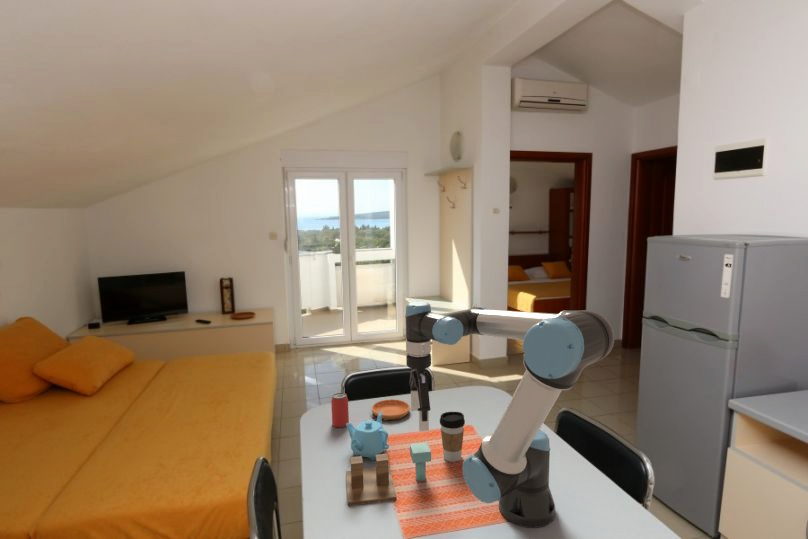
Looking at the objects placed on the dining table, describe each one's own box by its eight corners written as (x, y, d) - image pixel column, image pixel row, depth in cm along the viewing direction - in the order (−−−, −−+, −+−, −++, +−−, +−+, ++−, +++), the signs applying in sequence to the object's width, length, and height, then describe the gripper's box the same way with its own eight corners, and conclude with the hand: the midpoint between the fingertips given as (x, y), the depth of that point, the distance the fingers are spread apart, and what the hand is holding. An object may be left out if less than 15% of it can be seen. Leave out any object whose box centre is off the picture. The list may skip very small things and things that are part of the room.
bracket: (396, 499, 130) (395, 470, 129) (348, 505, 128) (347, 476, 127) (389, 469, 146) (388, 443, 145) (346, 473, 144) (345, 447, 142)
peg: (431, 482, 138) (431, 451, 137) (413, 484, 137) (413, 453, 136) (427, 472, 143) (427, 442, 142) (410, 474, 143) (409, 444, 141)
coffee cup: (464, 465, 147) (463, 421, 145) (438, 462, 149) (438, 419, 147) (465, 451, 155) (465, 410, 153) (441, 449, 157) (441, 409, 155)
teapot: (346, 444, 162) (344, 415, 160) (383, 439, 165) (382, 409, 164) (352, 467, 147) (351, 435, 146) (393, 460, 151) (392, 428, 149)
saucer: (392, 402, 198) (392, 395, 198) (418, 413, 186) (417, 406, 186) (364, 413, 187) (363, 406, 187) (389, 426, 176) (388, 419, 175)
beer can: (352, 422, 179) (351, 394, 177) (341, 429, 173) (340, 400, 172) (339, 419, 182) (338, 390, 181) (328, 425, 177) (327, 396, 175)
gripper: (440, 366, 124) (441, 438, 126) (422, 340, 148) (423, 401, 151) (414, 368, 122) (415, 441, 125) (400, 342, 147) (401, 403, 150)
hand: (419, 419), depth 138 cm, fingers open, 13 cm apart
